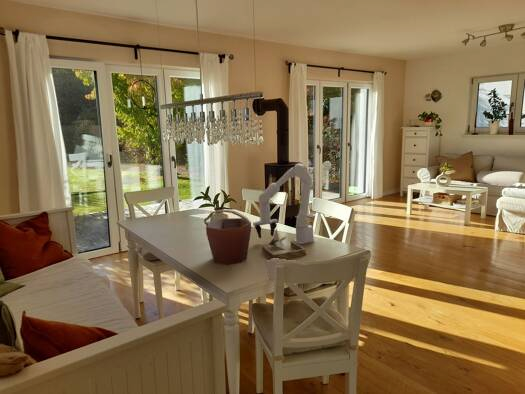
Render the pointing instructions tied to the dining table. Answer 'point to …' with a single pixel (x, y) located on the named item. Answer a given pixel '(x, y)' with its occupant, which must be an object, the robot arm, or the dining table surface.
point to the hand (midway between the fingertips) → (266, 236)
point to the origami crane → (277, 240)
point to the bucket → (228, 238)
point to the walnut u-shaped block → (296, 252)
